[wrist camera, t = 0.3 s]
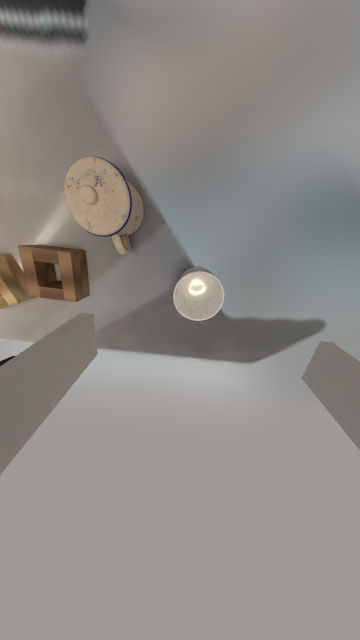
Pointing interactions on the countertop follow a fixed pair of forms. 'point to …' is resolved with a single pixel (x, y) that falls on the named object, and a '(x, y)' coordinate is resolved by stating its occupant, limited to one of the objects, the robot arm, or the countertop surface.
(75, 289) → the bead dark
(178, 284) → the white cup
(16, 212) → the countertop surface
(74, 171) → the teacup with lid
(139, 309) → the countertop surface
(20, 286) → the light wooden square frame
